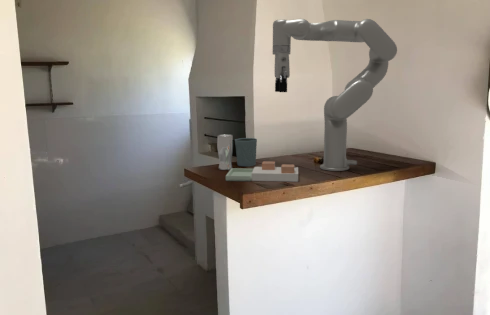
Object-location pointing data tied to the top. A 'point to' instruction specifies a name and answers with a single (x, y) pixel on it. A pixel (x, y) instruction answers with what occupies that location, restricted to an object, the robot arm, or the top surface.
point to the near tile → (287, 168)
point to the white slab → (273, 175)
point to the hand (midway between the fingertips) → (280, 91)
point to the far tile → (268, 165)
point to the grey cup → (246, 151)
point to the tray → (239, 174)
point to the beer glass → (225, 151)
